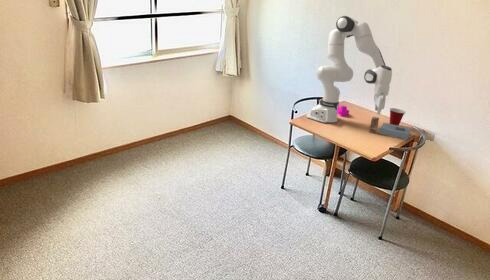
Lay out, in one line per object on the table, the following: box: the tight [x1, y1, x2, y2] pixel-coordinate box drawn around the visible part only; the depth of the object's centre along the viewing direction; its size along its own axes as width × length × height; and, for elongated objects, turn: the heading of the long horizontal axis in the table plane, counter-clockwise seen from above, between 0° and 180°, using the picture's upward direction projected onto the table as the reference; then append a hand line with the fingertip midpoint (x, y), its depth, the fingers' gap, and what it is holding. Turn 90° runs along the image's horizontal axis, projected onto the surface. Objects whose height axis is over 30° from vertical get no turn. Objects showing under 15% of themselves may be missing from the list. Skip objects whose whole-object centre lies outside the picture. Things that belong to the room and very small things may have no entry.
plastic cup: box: [389, 107, 406, 126], centre depth 274 cm, size 11×11×12 cm
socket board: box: [378, 122, 412, 141], centre depth 260 cm, size 18×14×4 cm
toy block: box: [337, 105, 350, 117], centre depth 295 cm, size 15×6×8 cm, turn 14°
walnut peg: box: [368, 116, 380, 134], centre depth 258 cm, size 4×4×10 cm
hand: (377, 112), depth 255 cm, fingers open, 8 cm apart
